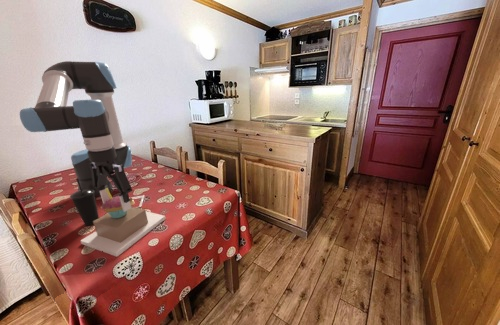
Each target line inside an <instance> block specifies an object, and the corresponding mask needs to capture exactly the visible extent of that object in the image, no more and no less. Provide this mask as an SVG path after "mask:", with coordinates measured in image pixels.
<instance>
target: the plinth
mask: <svg viewBox="0 0 500 325" xmlns="http://www.w3.org/2000/svg"><path fill="white" fill-rule="evenodd" d="M136 207H137V206H131V208H130V209H129V210H127V214H126V215H125V216H123V217H120V218H112V217H111V215H110V214H109V213H108V212H107V213H106V214H103V215H102V216H100V217H99V218H98V219H96V220H95V221H93V224H94V225H93V226H94V230H95V231H93V233H90V234H89V235H87V236H85V237H84V238H82V239H81V240H80V243H81V245H84V246H86V247H88V248H91V249H94V250H97V251H100V252H102V251H103V252H102V253H105V254H109V255H111V256H114V257H119V256H120V255H121V254H122V253H124V252H126V250H128V249H129V248H130V247H132V246H133V245H134V244H136V243H137V242H138V241H139V240H140V239H142V238H143V237H144V236H145V235H147V234H148V233H150V232H151V231H152V230H154V228H156V227H157V226H159V225H160V224H161V223H163V221H165V220H166V219H167V218H166V215H162V214H159V213H155V212H150V211H146V209H143V208H141V207H139V208H136Z"/></svg>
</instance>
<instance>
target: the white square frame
mask: <svg viewBox="0 0 500 325" xmlns="http://www.w3.org/2000/svg"><path fill="white" fill-rule="evenodd" d="M129 199H130V204H131V207H133V205H135V204H136V202H135V200H136V199H137V200H138V199H140V202H139V206H135V207H136V208H142V206H143V202H144V199H145V195H144V194H143V195H138V196H132V197H130V196H129Z"/></svg>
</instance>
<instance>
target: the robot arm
mask: <svg viewBox="0 0 500 325" xmlns="http://www.w3.org/2000/svg"><path fill="white" fill-rule="evenodd" d="M113 76H114V75H112V72H111V69H110V67H109V65H108V64H107V63H105V62H99V61H71V60H69V61H67V60H66V61H61V62H57V63H55V64H53V65H51V66H50V67H47V68H46V69H45V70H44V72H43V73H42V76H41V82H42V83H43V84H42V87H41V90H40V93H39V95H38V97H37V100H36V104H35V106H34V107H26V108H22V109H20V111H19V119H20V122H21V124H22V126H23V127H24V129H25V130H26V131H28V132H30V133H41V132H43V133H47V132H57V131H63V130H65V131H66V130H74V129H75V130H76V129H79V130H80V133H81V136H82V139H83V144H84V145H85V148H86V149H83V150H79V151H77V152H75V153H73V154H72V155H71V156H70V159H71V165H72V167H73V168H74V173H75V175H76V179H77V178H78V179H79V182H80V185H81V188H82V189H93V190H94V196H95V197H99V196H100V197H101V198H100V199H101V200H102V204H103V203H105V202H106V201H107V200H108V199H110V197H109V195H108V193H107V191H106V188H108V190H109V192H111V190H112V189H113V185H114V187H115V188H116V189H117V191H118V193H119V194H118V196H119V198H120V201H121V205H122V209H123V211H124V212H125V211H127V210H129V209H130V208H131V207H132V206H131V204H130V199H129V197H130V196H129V195H130V193H131V192H133V188H132V186H131V184H130V182H129V179H128V177H127V174H126V172H125V169H126V168H130V167H132V165H133V158H132V157H133V156H132V147H131V146H128V143H127V142H125V141H124V140H123V136H122V132H121V129H120V128H121V127H120V124H119V119H118V116H117V112H116V108H115V103H114V100H113V95H114V94H115V89H117V85H116V82H115V80H114V77H113ZM72 90H84V91H85V94H86V95H88V96H89V97H90V99H77V100H73V102H72V105H70V106H68V105H67V104H68V98H69V93H70V92H71V91H72ZM110 180H111V181H110ZM112 183H113V185H112ZM105 187H106V188H105ZM79 190H80V189H79V186H78V185H77V191H79Z"/></svg>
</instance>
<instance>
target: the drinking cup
mask: <svg viewBox="0 0 500 325" xmlns="http://www.w3.org/2000/svg"><path fill="white" fill-rule="evenodd" d="M76 183H77V187H78V186H79V189H80V190H79V191H78V190H76V191H75V192H73V193H71V194H70V195H69V199H71V200H72V203H73V204H74V206H75V208H76V210H77V212H78V214H79V216H80V218H81V219H82V222H83V223H84V226H86V227H90V226H94V224H93V221H95V220H96V219H98V218H100V217H99V212H98V207H97V201H96V196H94V190H93V189H82V188H81V185H80V182H79V179H78V178H77V177H76Z"/></svg>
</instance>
